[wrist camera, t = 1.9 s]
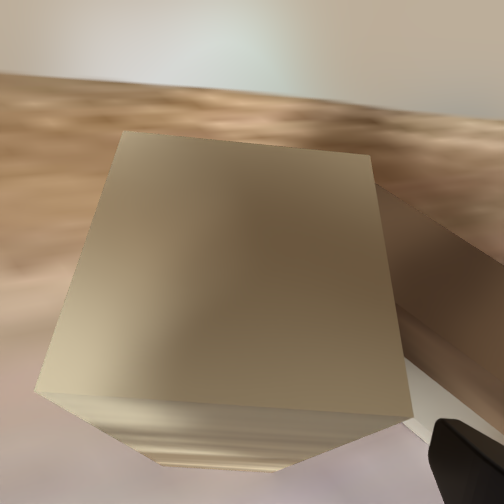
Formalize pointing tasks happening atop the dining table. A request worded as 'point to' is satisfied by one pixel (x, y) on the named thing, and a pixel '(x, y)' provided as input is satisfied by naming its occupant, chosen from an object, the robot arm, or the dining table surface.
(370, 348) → the ash post
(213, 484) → the dining table surface
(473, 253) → the ridge stand
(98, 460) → the dining table surface
